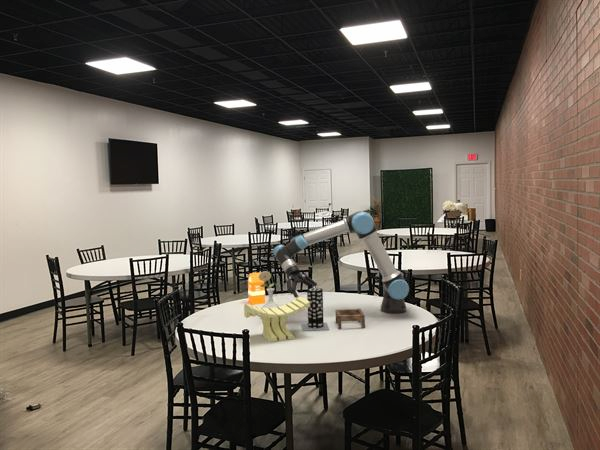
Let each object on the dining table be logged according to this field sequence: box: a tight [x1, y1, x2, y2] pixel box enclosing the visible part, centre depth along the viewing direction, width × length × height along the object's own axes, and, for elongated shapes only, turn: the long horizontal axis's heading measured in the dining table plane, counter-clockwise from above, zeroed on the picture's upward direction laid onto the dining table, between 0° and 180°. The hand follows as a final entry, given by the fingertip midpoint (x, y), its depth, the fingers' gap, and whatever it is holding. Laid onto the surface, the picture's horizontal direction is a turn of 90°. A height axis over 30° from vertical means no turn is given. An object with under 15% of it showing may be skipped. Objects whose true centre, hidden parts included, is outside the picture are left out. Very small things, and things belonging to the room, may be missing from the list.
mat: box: [301, 321, 330, 332], centre depth 276 cm, size 14×14×1 cm
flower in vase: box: [258, 270, 280, 309], centre depth 313 cm, size 13×11×25 cm
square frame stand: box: [334, 308, 366, 330], centre depth 278 cm, size 14×14×7 cm
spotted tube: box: [306, 287, 324, 328], centre depth 276 cm, size 8×8×20 cm
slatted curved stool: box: [243, 296, 310, 343], centre depth 261 cm, size 30×16×18 cm, turn 110°
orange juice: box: [247, 272, 266, 306], centre depth 337 cm, size 8×9×20 cm
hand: (310, 299), depth 277 cm, fingers open, 13 cm apart
